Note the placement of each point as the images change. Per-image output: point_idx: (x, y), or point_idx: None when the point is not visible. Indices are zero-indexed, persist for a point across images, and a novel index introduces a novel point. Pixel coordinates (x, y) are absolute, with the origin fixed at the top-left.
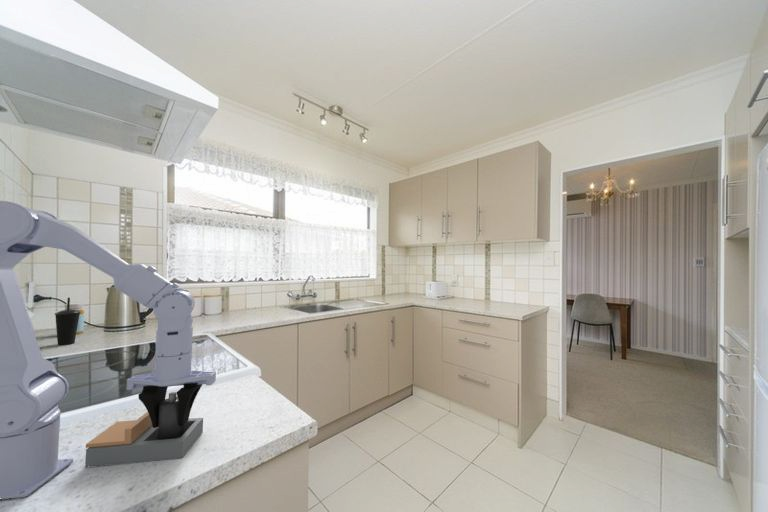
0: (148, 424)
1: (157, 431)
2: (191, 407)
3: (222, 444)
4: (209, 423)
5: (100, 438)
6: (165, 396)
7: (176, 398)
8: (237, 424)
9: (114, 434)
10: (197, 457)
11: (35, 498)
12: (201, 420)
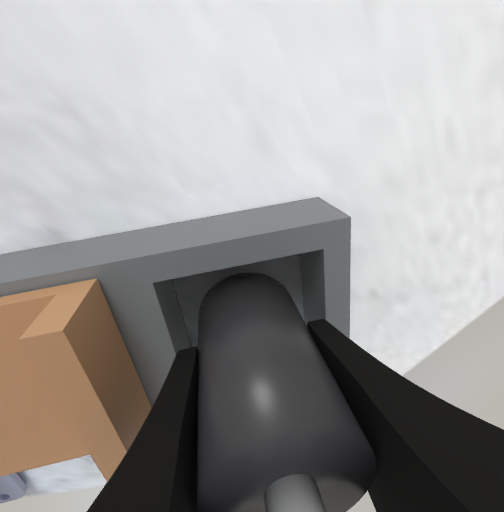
0: (116, 350)
1: (167, 312)
2: (369, 356)
3: (422, 270)
4: (313, 109)
5: None
6: (175, 488)
7: (295, 459)
8: (454, 124)
9: (22, 423)
10: (366, 331)
11: (57, 480)
12: (347, 234)
